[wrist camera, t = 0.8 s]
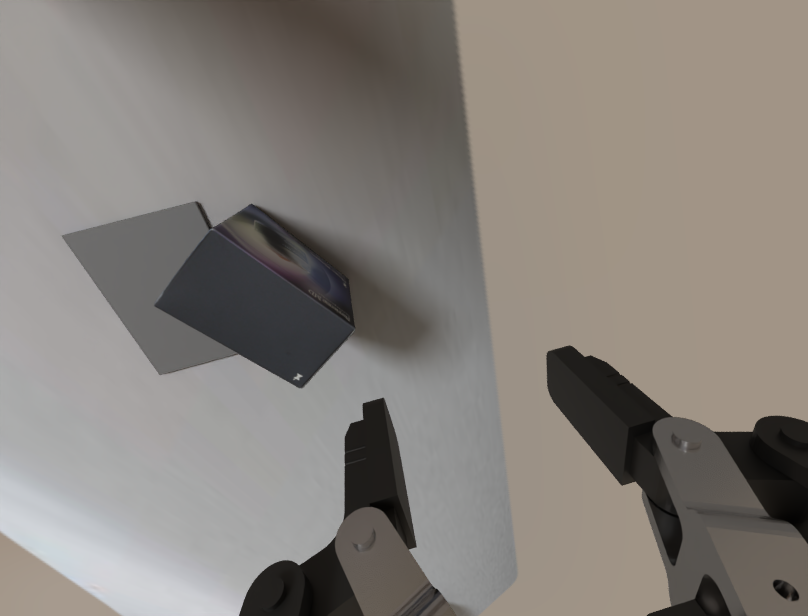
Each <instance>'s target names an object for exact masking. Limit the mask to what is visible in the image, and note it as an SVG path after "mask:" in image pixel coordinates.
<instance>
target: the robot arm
mask: <svg viewBox="0 0 808 616" xmlns="http://www.w3.org/2000/svg"><path fill="white" fill-rule="evenodd" d="M547 384H548V385H547V386H548V391H549V393H550V396H551V397H552V400H553V402H554V403H555V404H556V406H557V407H558V408H559V409H560V410H561V412H562V413H563V414H564V415H565V417H566V418H567V419H568V420H569V421H570V423H571V424H572V425H573V426H574V428H575V429H576V430H577V431H578V432H579V434H580V435H581V436H582V437H583V439H584V440H585V441H586V442H587V444H588V445H589V446H590V447H591V449H592V450H593V451H594V452H595V453H596V455H597V456H598V457H599V458H600V460H601V461H602V462H603V463H604V464H605V466H606V467H607V468H608V469H609V471H610V472H611V473H612V474H613V476H614V477H615V478H616V479H617V480H618V482H619V483H620V484H621V485H626V484H629V483H632V482H637V484H638V485H639V486H640V487H641V488H642V489H643V490H642V499H643V503H644V506H645V509H646V512H647V515H648V518H649V521H650V524H651V527H652V530H653V533H654V536H655V539H656V542H657V545H658V548H659V551H660V554H661V557H662V560H663V563H664V566H665V569H666V573H667V578H668V585H669V596H670V602H671V607H669V608H665V609H662V610H659V611H656V612H653V613H650V614H648V615H647V616H808V422H805V421H803V420H799V419H796V418H791V417H785V416H768V417H764V418H761V419H760V420H758V421H757V423H756V424H755V428H754V430H753V432H713V431H712V430H710V429H709V428H707V427H706V426H704V425H702V424H700V423H698V422H695V421H693V420H689V419H685V418H679V417H672V416H671V415H670V414H668V413H667V412H666V411H665V410H663V409H662V408H661V407H660V406H659V405H657V404H656V403H655V402H654V401H653V400H651V399H650V398H649V397H648V396H647V395H645V394H644V393H643V392H642V391H641V390H639V389H638V388H637V387H636V386H634V385H633V384H632V383H631V384H630V382H629V381H628V380H627V379H626V378H625V377H624V376H622V375H620V374H619V372H618V371H616V370H615V369H614V368H613V367H612V366H610V365H609V364H608V363H607V362H604V361H602V360H600V359H597V358H595V357H593V356H587V357H584V356H583V355H582V354H581V353H579V352H578V351H577V350H576V349H575V348H574V347H572V346H566V347H562V348H559V349H555V350H552V351H548V353H547ZM415 547H417V546H416V541H415V535H414V530H413V524H412V518H411V513H410V507H409V502H408V496H407V490H406V485H405V479H404V473H403V468H402V462H401V457H400V451H399V446H398V441H397V437H396V433H395V430H394V427H393V424H392V421H391V417H390V414H389V411H388V408H387V405H386V402H385V399H384V398H380V399H377V400H373V401H370V402H366V403H363V420H361V421H357V422H354V423H351V424H350V427H349V429H348V431H347V433H346V436H345V513H344V520H343V522H342V524H341V525H340V527H339V529H338V532H337V535H336V537H335V538H334V539H333V540H332V542H331V543H330V544H329V545H328V546H327V547H325V548H324V549H323V550H321V551H320V552H319V553H317V554H316V555H314V556H313V557H311V558H310V559H308V560H307V561H305V562H304V563H302V564H301V565H298V564H297V563H295V562H293V561H289V560H285V561H279V562H277V563H274V564H272V565H271V566H269V567H268V568H266V569H265V570H264V571H263V572H262V573H261V574H260V575H259V576H258V577H257V578H256V579H255V581H254V582H253V583H252V585H251V587H250V588H249V590H248V592H247V594H246V597H245V599H244V602H243V605H242V608H241V611H240V614H239V616H456V614H455V613H454V611H453V610H452V608H451V607H450V605H449V604H448V602H447V601H446V600H445V598H444V597H443V595H442V594H441V593H440V592H439V591H438V589H435V588H434V587H433V586H432V584H431V583H430V582H429V580H428V579H427V577H426V576H425V574H424V572H423V571H422V569H421V568H420V566H419V565H418V563H417V562H416V560H415V559H414V557H413V556H412V554H411V553H410V551H409V549H412V548H415Z"/></svg>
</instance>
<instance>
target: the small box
mask: <svg viewBox="0 0 808 616" xmlns="http://www.w3.org/2000/svg"><path fill="white" fill-rule="evenodd" d="M154 306H155V307H156V308H158V309H160V310H162V311H163V312H165V313H167V314H169V315H170V316H172V317H174V318H176V319H177V320H179V321H181V322H183V323H185V324H186V325H188V326H190V327H192V328H193V329H195V330H197V331H199V332H201V333H202V334H204V335H206V336H208V337H209V338H211V339H213V340H215V341H216V342H218V343H220V344H222V345H224V346H225V347H227V348H229V349H231V350H233V351H234V352H236V353H238V354H240V355H241V356H243V357H245V358H247V359H248V360H250V361H252V362H254V363H255V364H257V365H259V366H261V367H263V368H265V369H266V370H268V371H270V372H271V373H273V374H275V375H277V376H279V377H280V378H282V379H284V380H286V381H288V382H289V383H291V384H293V385H295V386H296V387H298V388H303V387H305V385H306V384H307V383H308V382H309V381H310V380H311V378H312V377H313V376H314V375H315V374H316V373H317V372H318V371H319V370H320V369H321V368H322V367H323V365H324V364H325V363H326V362H327V361H328V360H329V359H330V358H331V357H332V356H333V354H334V353H335V352H336V351H337V350H338V349H339V348H340V347H341V346H342V345H343V344H344V342H345V341H346V340H347V339H348V338H349V337H350V336H351V335H352V334H353V333H354V331H355V326H354V319H353V311H352V304H351V297H350V289H349V280H348V278H346V277H345V276H344V275H343V274H341V273H340V272H339V271H338V270H336V269H335V268H334V267H332V266H331V265H330V264H329V263H327V262H326V261H325V260H323V259H322V258H321V257H320V256H318V255H317V254H316V253H314V252H313V251H312V250H311V249H309V248H308V247H307V246H306V245H304V244H303V243H302V242H300V241H299V240H298V239H297V238H295V237H294V236H293V235H291V234H290V233H289V232H288V231H286V230H285V229H284V228H282V227H281V226H280V225H279V224H277V223H276V222H275V221H274V220H272V219H271V218H270V217H268V216H267V215H266V214H264V213H263V212H262V211H261V210H259V209H258V208H257V207H256V206H254V205H253V204H250V205H249V206H248V207H246V208H244V209H242V210H241V211H240V212H238V213H237V214H235V215H233V216H232V217H230V218H228V219H227V220H225V221H224V222H222V223H220V224H219V225H217V226H215V227H213V228H211V229H210V230H209V231H208V232H207V234H206V235H205V236H204V237H203V239H202V240H201V241H200V242H199V243H198V245H197V246H196V247H195V249H194V250H193V251H192V253H191V254H190V255H189V257H188V258H187V259H186V260H185V262H184V263H183V265H182V266H181V267H180V269H179V270H178V271H177V273H176V274H175V275H174V277H173V278H172V279H171V281H170V282H169V284H168V285H167V286H166V288H165V289H164V290H163V292H162V293H161V295H160V296H159V297H158V298H157V300H156V301H155V303H154Z"/></svg>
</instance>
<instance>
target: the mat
mask: <svg viewBox="0 0 808 616" xmlns="http://www.w3.org/2000/svg"><path fill="white" fill-rule="evenodd" d="M209 230H210V228H209V226H208V224H207V222H206V220H205V218H204V216H203V214H202V212H201V210H200V208H199V206H198V204H197V202H192V203H188V204H184V205H180V206H176V207H172V208H168V209H164V210H160V211H157V212H153V213H149V214H145V215H141V216H137V217H133V218H129V219H125V220H121V221H117V222H113V223H109V224H106V225H102V226H98V227H94V228H90V229H86V230H82V231H78V232H74V233H70V234H66V235H63V236H62V237H63V239H64V240H65V242H66V243H67V245H68V246H69V247H70V249H71V250H72V252H73V253H74V254H75V256H76V257H77V259H78V260H79V262H80V263H81V264H82V266H83V267H84V269H85V270H86V271H87V273H88V274H89V276H90V277H91V279H92V280H93V281H94V283H95V284H96V286H97V287H98V288H99V290H100V291H101V293H102V294H103V296H104V297H105V298H106V300H107V301H108V303H109V304H110V305H111V307H112V308H113V310H114V311H115V313H116V314H117V315H118V317H119V318H120V320H121V321H122V322H123V324H124V325H125V327H126V328H127V330H128V331H129V332H130V334H131V335H132V337H133V338H134V339H135V341H136V342H137V344H138V345H139V347H140V348H141V349H142V351H143V352H144V354H145V355H146V356H147V358H148V359H149V361H150V362H151V364H152V365H153V366H154V368H155V369H156V371H157V372H158V373H159V375H162V374H165V373H169V372H172V371H176V370H180V369H183V368H187V367H191V366H194V365H198V364H202V363H205V362H209V361H212V360H216V359H220V358H223V357H227V356H231V355H234V354H238V353H236V352H234V351H233V350H231V349H229V348H227V347H225V346H224V345H222V344H220V343H218V342H216V341H215V340H213V339H211V338H209V337H208V336H206V335H204V334H202V333H201V332H199V331H197V330H195V329H193V328H192V327H190V326H188V325H186V324H185V323H183V322H181V321H179V320H177V319H176V318H174V317H172V316H170V315H169V314H167V313H165V312H163V311H162V310H160V309H158V308H156V307H155V306H154V303H155V301H156V300H157V298H158V297H159V296H160V295H161V293H162V292H163V290H164V289H165V288H166V286H167V285H168V284H169V282H170V281H171V279H172V278H173V277H174V275H175V274H176V273H177V271H178V270H179V269H180V267H181V266H182V265H183V263H184V262H185V260H186V259H187V258H188V257H189V255H190V254H191V253H192V251H193V250H194V249H195V247H196V246H197V245H198V243H199V242H200V241H201V240H202V239H203V237H204V236H205V235H206V234H207V232H208V231H209Z"/></svg>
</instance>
